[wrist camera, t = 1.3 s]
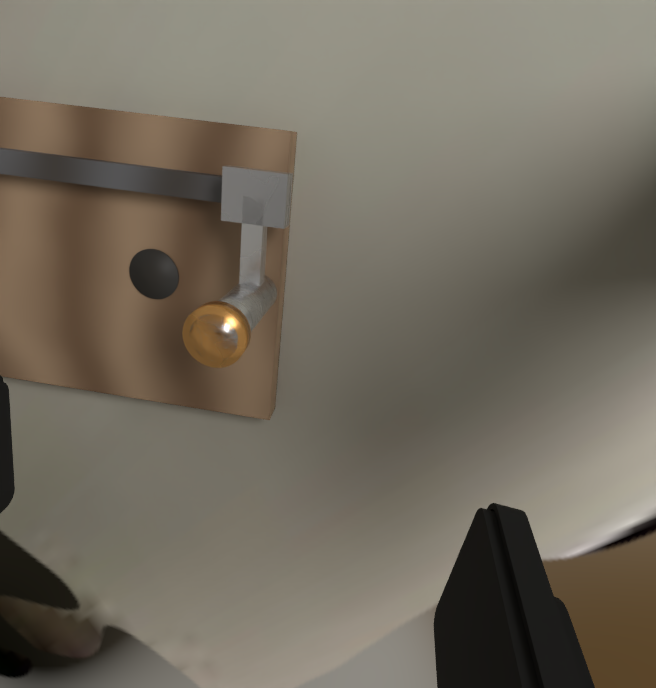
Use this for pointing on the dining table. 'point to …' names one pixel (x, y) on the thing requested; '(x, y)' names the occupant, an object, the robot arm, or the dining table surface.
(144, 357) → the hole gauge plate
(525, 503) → the dining table surface
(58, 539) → the dining table surface
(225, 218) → the track spotlight
